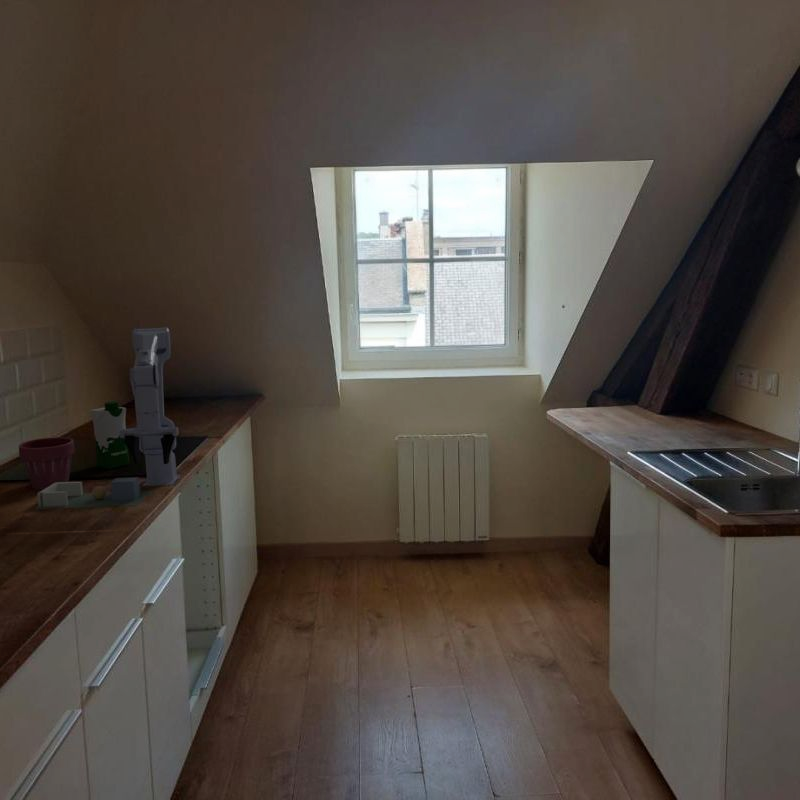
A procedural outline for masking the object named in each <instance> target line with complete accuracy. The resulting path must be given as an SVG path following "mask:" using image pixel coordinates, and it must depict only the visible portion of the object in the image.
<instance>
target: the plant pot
mask: <svg viewBox="0 0 800 800" xmlns="http://www.w3.org/2000/svg"><path fill="white" fill-rule="evenodd" d="M75 450H76V449H75V443H74V439H73V438H70V437H58V436H57V437H56V436H55V437H44V438H36V439H31V440H27V441H23V442H22V443H19V444H18V455H19V459H20V460H22V461H23V462H24V463H23V464H24V466H25V469H26V472H27V475H28V478H29V480H30V484H31V486H32V489H34V490H40V491H42V490H44V489H45V488H47V487H49V486H50V485H52V484H54V483H55V482H70V479H69V478H70V475H71V474H70V473H71V465H72V455H74V454H75V453H76V451H75Z"/></svg>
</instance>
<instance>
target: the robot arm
mask: <svg viewBox="0 0 800 800" xmlns="http://www.w3.org/2000/svg"><path fill="white" fill-rule="evenodd" d="M170 333H171V332H170V329H169V328H168V327H167V326H165V327H158V328H157V327H155V328H153V327H152V328H134V329H133V330H132V333H131V335H132V336H131V337H132V345H133V349H134V353H135V354H134V355H135V361H134V366H133V367H131V368H130V370H129V371H130V372H129V377H130V378H129V379H130V380H129V381H130V385H131V388H132V394H133V396H134V407H135V416H136V417H135V418H136V427H134V428H126V429H122V430H120V438H125V440H124V443H125V445H126V446H127V447H128V452H130V454H131V457H132V459H133V463H134V465H135V466H139V465H140V464H141V454H140V452H141V453H143V455H144V459H145V469H146V470H145V472H146V481H145V482H144V483H143V484H142V487H149V486H150V487H153V486H155V487H156V486H172V485H173V484H174V483H175V482H177V481H178V480H179V479H180V478H181V475H179V474H178V475H177V463H176V455H175V453H174V452H173V450H175V449H176V448H177V436H178V435H180V432H179V427H177V426H175V424H174V421H173V420H171V419H170V418H167V417H166V416H165V403H164V402H165V401H164V397H165V396H164V374H163V373H164V372H163V369H164V366H165V365H164V364H165V362H167V360H169V359H171V358H170V357H171V354H172V353H171V351H172V350H171V334H170Z"/></svg>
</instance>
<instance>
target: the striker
mask: <svg viewBox="0 0 800 800" xmlns="http://www.w3.org/2000/svg"><path fill="white" fill-rule="evenodd" d="M109 483H110V493H111V496H112V501H124V500H136V499H137V498H138V497H139V496H140V492H141V489H140V488H141V487H140V477H138V476H137V477H136V476H135V477H115V478H114V479H113V480H111V481H110V482H109Z"/></svg>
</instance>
